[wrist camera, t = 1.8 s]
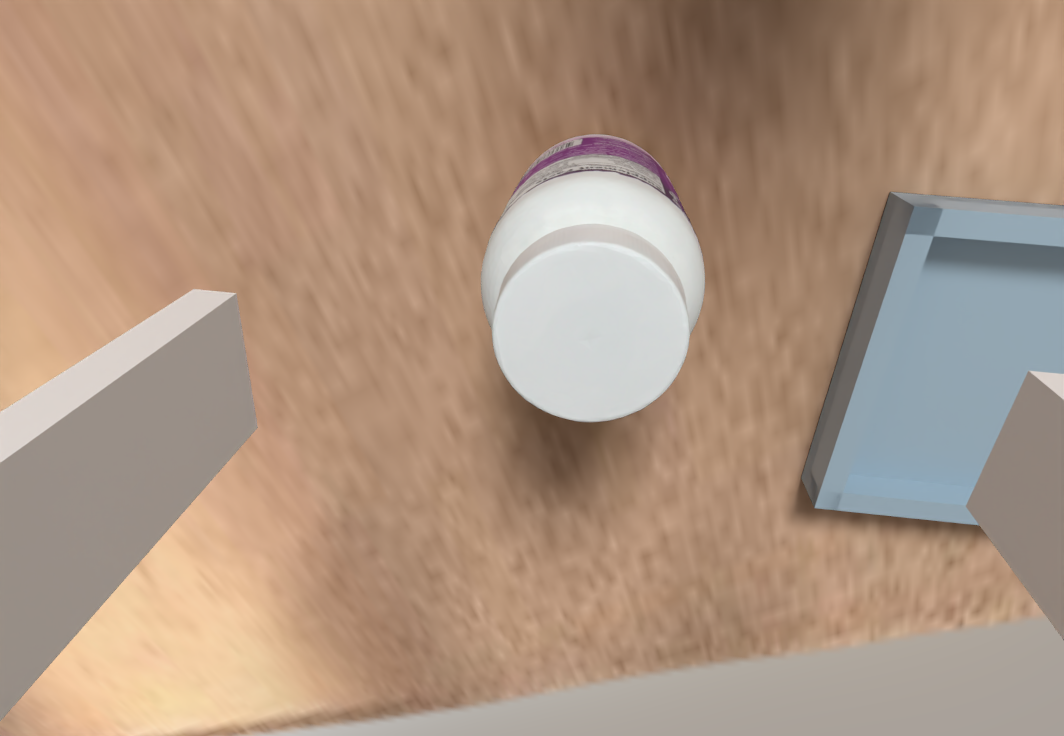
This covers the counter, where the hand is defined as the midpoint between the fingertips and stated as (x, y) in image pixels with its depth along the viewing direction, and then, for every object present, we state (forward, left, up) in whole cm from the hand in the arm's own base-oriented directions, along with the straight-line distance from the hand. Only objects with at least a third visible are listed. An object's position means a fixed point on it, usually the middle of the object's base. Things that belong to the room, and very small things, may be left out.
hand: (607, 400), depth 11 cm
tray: (+16, -4, -12) cm, 20 cm away
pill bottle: (0, 0, -12) cm, 12 cm away
